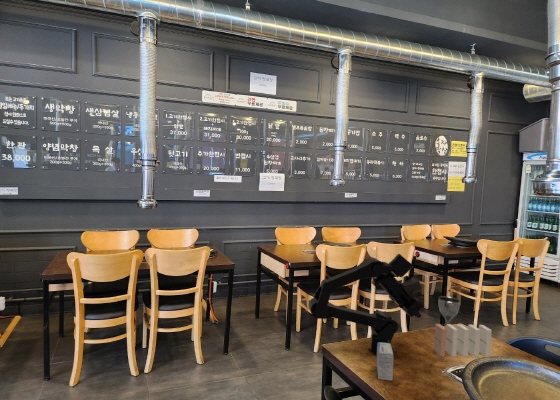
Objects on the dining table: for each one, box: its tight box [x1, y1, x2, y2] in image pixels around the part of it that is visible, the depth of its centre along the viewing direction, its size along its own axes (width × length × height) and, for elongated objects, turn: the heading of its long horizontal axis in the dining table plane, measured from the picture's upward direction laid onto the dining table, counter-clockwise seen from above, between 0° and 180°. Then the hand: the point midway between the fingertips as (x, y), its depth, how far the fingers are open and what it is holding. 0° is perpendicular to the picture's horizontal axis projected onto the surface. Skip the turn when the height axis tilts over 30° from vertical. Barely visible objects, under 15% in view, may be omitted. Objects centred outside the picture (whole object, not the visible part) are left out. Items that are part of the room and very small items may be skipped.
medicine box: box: [375, 342, 394, 382], centre depth 114 cm, size 8×4×9 cm, turn 168°
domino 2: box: [445, 323, 458, 358], centre depth 130 cm, size 2×5×10 cm, turn 3°
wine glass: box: [438, 295, 461, 324], centre depth 147 cm, size 8×8×15 cm
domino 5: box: [478, 324, 493, 357], centre depth 131 cm, size 2×5×10 cm, turn 3°
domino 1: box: [433, 323, 446, 357], centre depth 130 cm, size 2×5×10 cm, turn 3°
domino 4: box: [467, 324, 480, 358], centre depth 131 cm, size 2×5×10 cm, turn 3°
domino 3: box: [456, 323, 469, 358], centre depth 130 cm, size 2×5×10 cm, turn 3°
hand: (419, 316), depth 129 cm, fingers closed
